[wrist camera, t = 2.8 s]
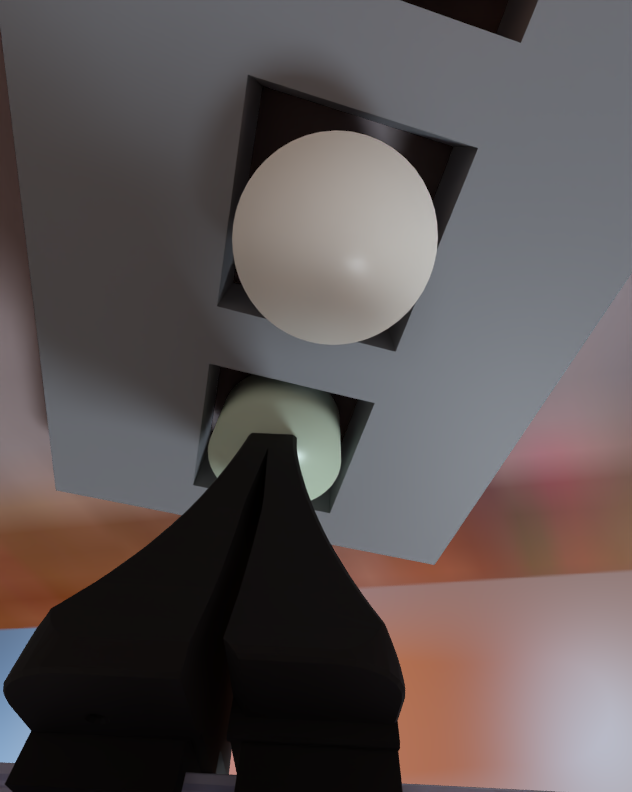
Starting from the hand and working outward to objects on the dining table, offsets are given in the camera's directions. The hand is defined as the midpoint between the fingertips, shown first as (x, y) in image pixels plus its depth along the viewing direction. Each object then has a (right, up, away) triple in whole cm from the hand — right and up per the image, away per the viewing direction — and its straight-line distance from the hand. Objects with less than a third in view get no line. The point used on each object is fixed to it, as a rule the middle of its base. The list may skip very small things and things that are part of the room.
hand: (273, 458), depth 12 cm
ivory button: (+2, +6, -3) cm, 7 cm away
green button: (0, +1, +2) cm, 2 cm away
